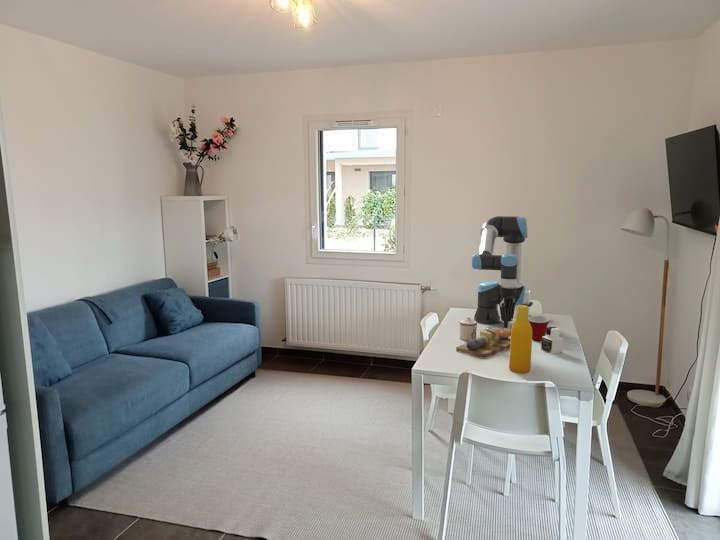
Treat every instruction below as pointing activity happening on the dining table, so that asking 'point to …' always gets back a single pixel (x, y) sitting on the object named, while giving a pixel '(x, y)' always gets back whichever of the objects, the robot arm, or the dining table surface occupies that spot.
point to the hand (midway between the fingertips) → (506, 333)
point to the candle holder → (525, 302)
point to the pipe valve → (485, 344)
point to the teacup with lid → (468, 329)
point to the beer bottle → (521, 342)
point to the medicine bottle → (552, 341)
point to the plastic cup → (538, 327)
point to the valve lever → (499, 332)
